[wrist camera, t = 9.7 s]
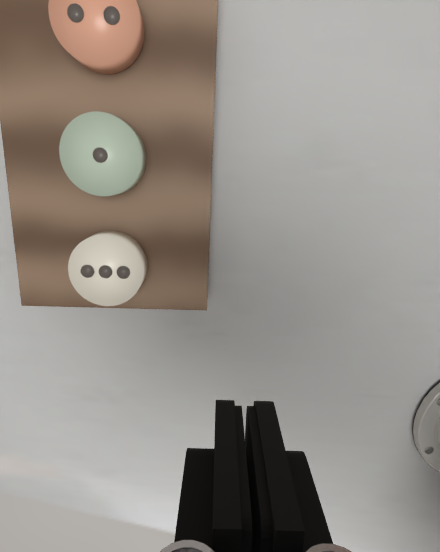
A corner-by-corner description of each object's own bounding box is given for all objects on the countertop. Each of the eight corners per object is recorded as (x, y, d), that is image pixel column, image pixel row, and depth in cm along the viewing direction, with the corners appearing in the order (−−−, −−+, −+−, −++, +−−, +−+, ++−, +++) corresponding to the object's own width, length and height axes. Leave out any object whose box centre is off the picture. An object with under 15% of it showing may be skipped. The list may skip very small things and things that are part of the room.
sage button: (146, 196, 25) (141, 198, 23) (73, 193, 24) (61, 194, 22) (145, 118, 23) (140, 113, 21) (68, 114, 23) (55, 108, 21)
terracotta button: (145, 76, 23) (139, 67, 21) (65, 71, 22) (51, 61, 20) (143, -17, 21) (137, -37, 19) (58, -23, 21) (43, -44, 19)
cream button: (147, 297, 27) (143, 307, 25) (80, 295, 26) (70, 305, 24) (146, 231, 25) (142, 236, 23) (75, 229, 25) (64, 233, 23)
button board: (206, 297, 30) (206, 310, 28) (39, 292, 30) (21, 305, 27) (217, -4, 24) (219, -28, 22) (8, -20, 24) (-19, -46, 21)
